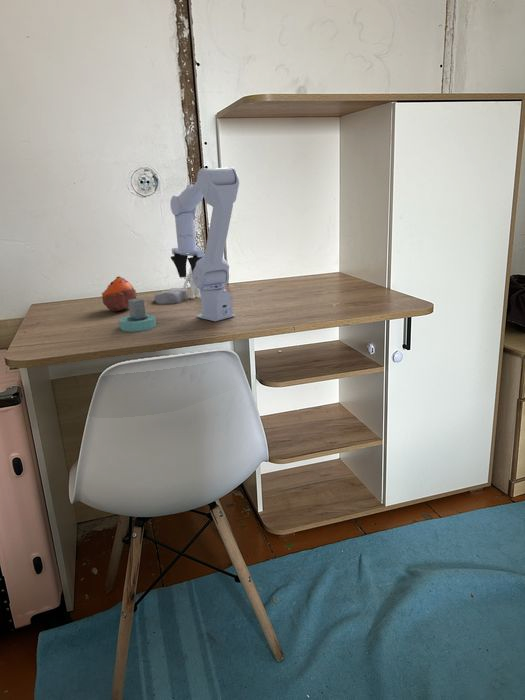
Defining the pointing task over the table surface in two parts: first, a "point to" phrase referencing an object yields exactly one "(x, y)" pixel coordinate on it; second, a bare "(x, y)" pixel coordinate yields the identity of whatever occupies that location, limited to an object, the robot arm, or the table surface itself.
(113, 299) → the orange rounded figure
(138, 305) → the dark metal rectangular bar
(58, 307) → the table surface
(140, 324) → the teal creased ring
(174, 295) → the stone block
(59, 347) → the table surface
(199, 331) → the table surface
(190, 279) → the blocky character figurine
